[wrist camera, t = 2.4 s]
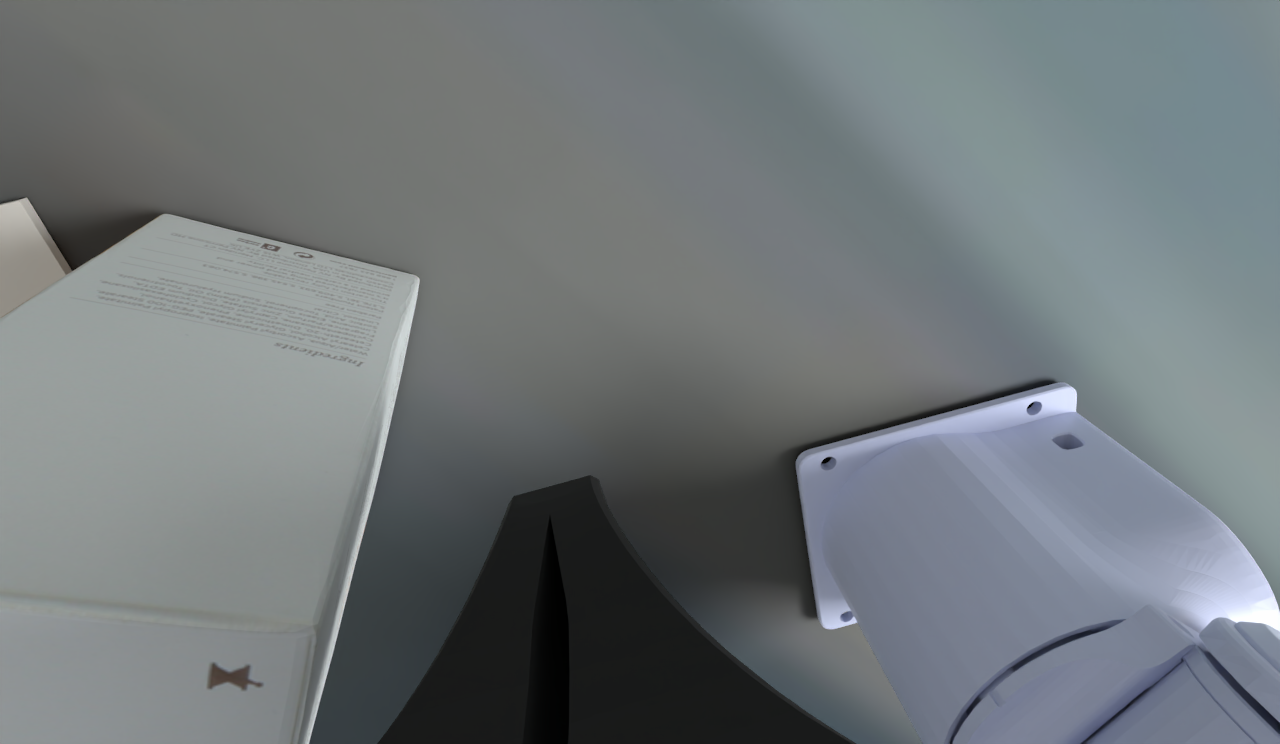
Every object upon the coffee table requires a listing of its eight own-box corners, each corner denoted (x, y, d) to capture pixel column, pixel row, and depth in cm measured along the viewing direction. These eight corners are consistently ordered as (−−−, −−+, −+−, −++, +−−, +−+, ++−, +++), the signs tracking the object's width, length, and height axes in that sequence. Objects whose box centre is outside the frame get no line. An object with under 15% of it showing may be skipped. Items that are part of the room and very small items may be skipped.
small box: (161, 206, 18) (-419, 549, 7) (424, 272, 20) (334, 629, 8) (138, 479, 21) (-288, 1044, 10) (369, 514, 23) (247, 1023, 11)
